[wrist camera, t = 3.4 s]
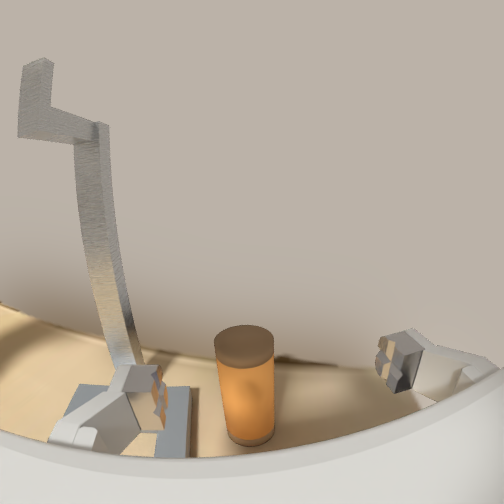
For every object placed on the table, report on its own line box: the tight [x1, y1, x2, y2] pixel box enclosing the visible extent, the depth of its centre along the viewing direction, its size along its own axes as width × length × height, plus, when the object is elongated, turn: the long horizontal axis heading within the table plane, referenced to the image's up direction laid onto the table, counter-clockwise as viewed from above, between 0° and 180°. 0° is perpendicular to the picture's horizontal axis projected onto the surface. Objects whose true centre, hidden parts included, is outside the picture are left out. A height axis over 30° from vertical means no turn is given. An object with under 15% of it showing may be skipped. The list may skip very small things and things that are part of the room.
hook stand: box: [18, 58, 145, 370], centre depth 24 cm, size 3×14×36 cm, turn 7°
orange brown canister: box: [214, 325, 274, 446], centre depth 26 cm, size 5×5×12 cm
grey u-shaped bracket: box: [63, 384, 192, 458], centre depth 25 cm, size 15×14×2 cm
